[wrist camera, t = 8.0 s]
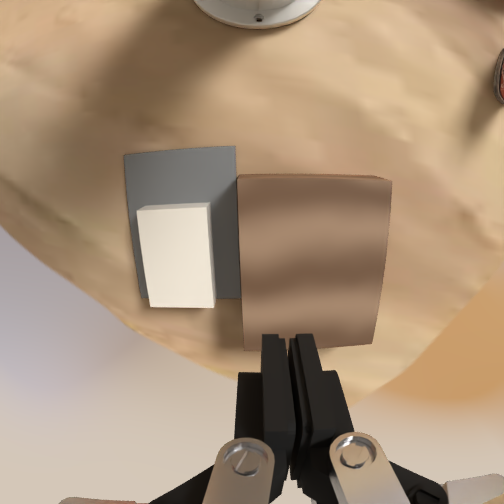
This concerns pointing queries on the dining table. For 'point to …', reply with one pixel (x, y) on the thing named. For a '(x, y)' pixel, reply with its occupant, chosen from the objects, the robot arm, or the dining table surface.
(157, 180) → the mat
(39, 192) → the dining table surface
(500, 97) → the lighter
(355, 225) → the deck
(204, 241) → the tile
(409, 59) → the dining table surface
